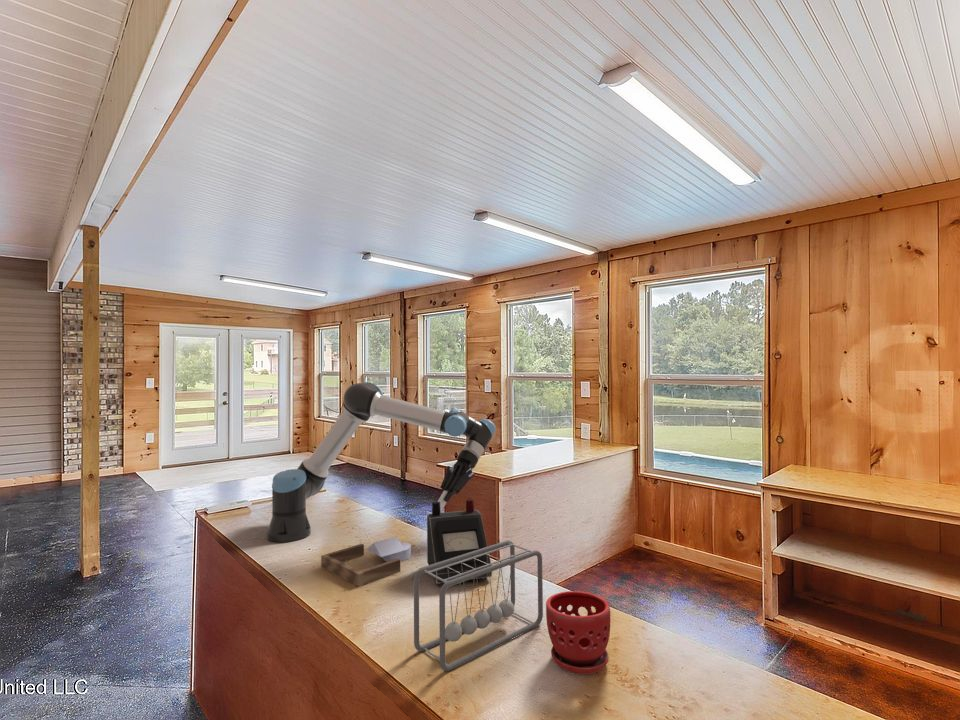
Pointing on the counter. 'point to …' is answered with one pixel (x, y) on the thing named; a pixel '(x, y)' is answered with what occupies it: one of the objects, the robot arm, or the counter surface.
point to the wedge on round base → (391, 549)
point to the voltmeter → (455, 540)
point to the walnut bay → (359, 578)
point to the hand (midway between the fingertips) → (438, 508)
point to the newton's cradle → (481, 616)
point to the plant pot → (578, 631)
